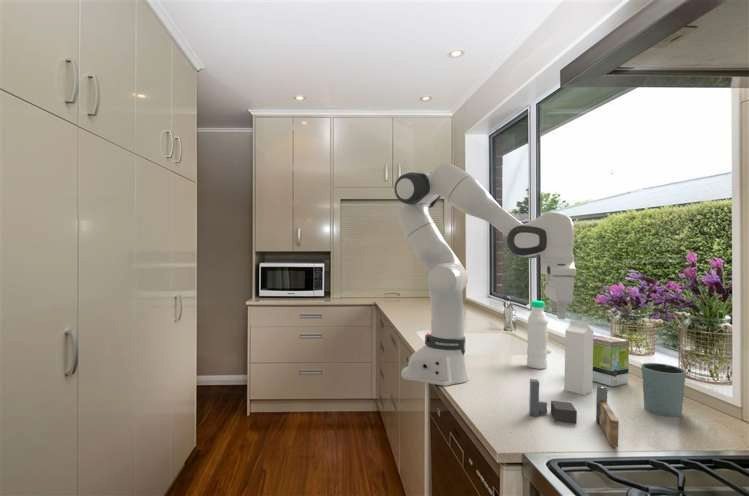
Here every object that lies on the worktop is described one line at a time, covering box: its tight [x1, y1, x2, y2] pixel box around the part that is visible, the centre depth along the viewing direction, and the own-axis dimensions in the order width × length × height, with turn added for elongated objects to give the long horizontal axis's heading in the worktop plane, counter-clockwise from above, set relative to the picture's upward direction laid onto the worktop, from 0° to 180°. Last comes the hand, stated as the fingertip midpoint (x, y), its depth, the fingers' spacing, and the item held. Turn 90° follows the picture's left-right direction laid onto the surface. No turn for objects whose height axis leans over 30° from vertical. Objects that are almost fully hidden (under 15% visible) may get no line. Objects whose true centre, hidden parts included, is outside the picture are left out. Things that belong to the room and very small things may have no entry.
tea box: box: [592, 333, 630, 387], centre depth 141 cm, size 15×10×15 cm, turn 28°
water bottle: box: [526, 300, 549, 370], centre depth 155 cm, size 7×7×25 cm
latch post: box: [528, 378, 548, 418], centre depth 108 cm, size 4×3×9 cm
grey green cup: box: [640, 362, 687, 418], centre depth 113 cm, size 10×10×12 cm
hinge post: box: [595, 385, 608, 424], centre depth 104 cm, size 2×2×9 cm
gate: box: [599, 400, 620, 448], centre depth 96 cm, size 13×1×6 cm, turn 161°
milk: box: [563, 319, 594, 396], centre depth 128 cm, size 6×6×22 cm
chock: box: [550, 400, 578, 425], centre depth 106 cm, size 5×6×4 cm
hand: (557, 316), depth 117 cm, fingers open, 8 cm apart
